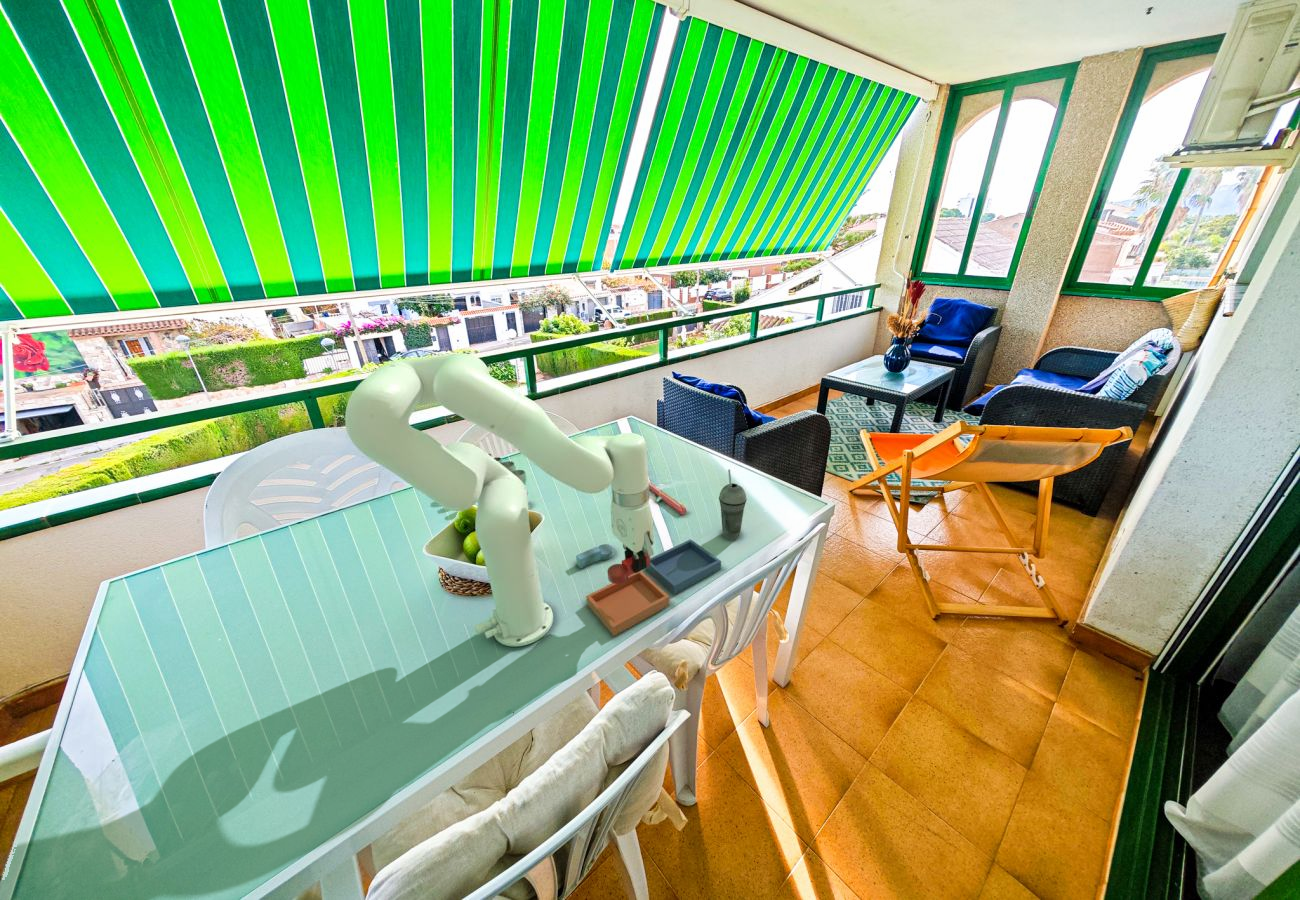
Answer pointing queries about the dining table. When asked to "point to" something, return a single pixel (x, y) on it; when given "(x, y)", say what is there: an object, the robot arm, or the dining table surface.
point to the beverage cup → (732, 509)
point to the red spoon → (622, 570)
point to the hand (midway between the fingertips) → (636, 566)
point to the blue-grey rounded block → (594, 555)
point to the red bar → (668, 499)
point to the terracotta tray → (627, 602)
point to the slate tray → (683, 566)
